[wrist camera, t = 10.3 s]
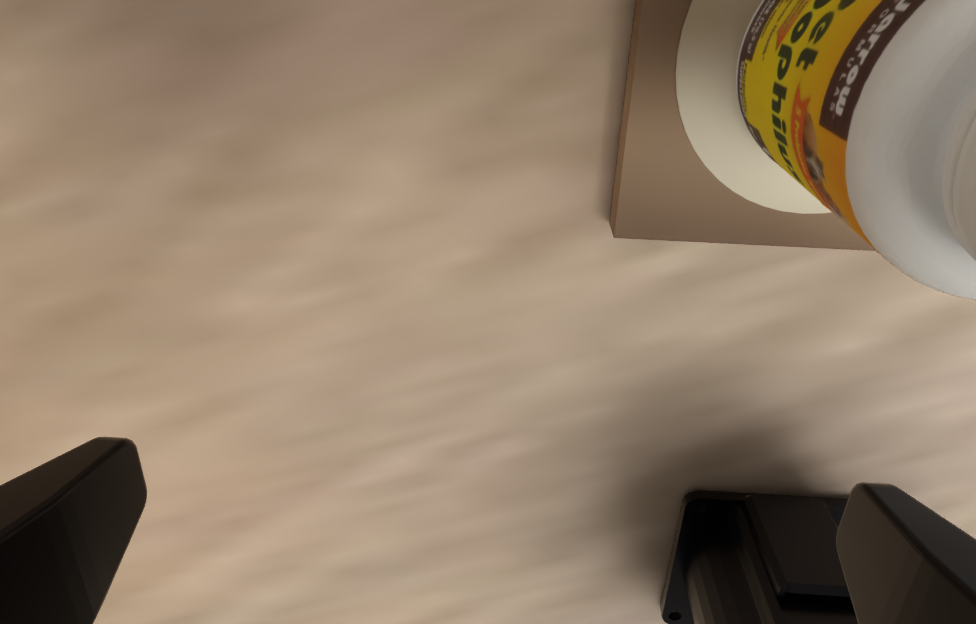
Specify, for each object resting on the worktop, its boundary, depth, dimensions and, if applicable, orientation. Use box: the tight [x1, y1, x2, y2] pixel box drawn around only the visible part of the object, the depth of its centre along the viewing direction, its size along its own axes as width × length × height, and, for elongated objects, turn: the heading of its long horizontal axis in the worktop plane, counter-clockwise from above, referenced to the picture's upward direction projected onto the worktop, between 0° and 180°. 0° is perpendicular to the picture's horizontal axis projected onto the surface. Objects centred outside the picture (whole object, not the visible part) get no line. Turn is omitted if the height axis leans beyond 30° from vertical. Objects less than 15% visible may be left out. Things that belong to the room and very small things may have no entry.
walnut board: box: [610, 0, 876, 251], centre depth 18 cm, size 10×10×1 cm
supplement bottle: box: [736, 0, 976, 300], centre depth 13 cm, size 6×6×10 cm
